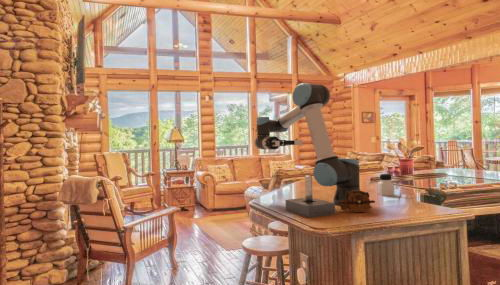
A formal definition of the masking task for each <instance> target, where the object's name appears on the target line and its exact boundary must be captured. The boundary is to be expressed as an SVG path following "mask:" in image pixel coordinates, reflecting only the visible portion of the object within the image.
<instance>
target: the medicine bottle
mask: <svg viewBox="0 0 500 285" xmlns="http://www.w3.org/2000/svg"><path fill="white" fill-rule="evenodd" d="M377 194H378V195H380V196H382V197H385V196H387V197H388V196H392V197H393V196H395V183H394V182H393V181H392V175H391V174H390V173H381V174H380V175H379V181H378V182H377Z"/></svg>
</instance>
